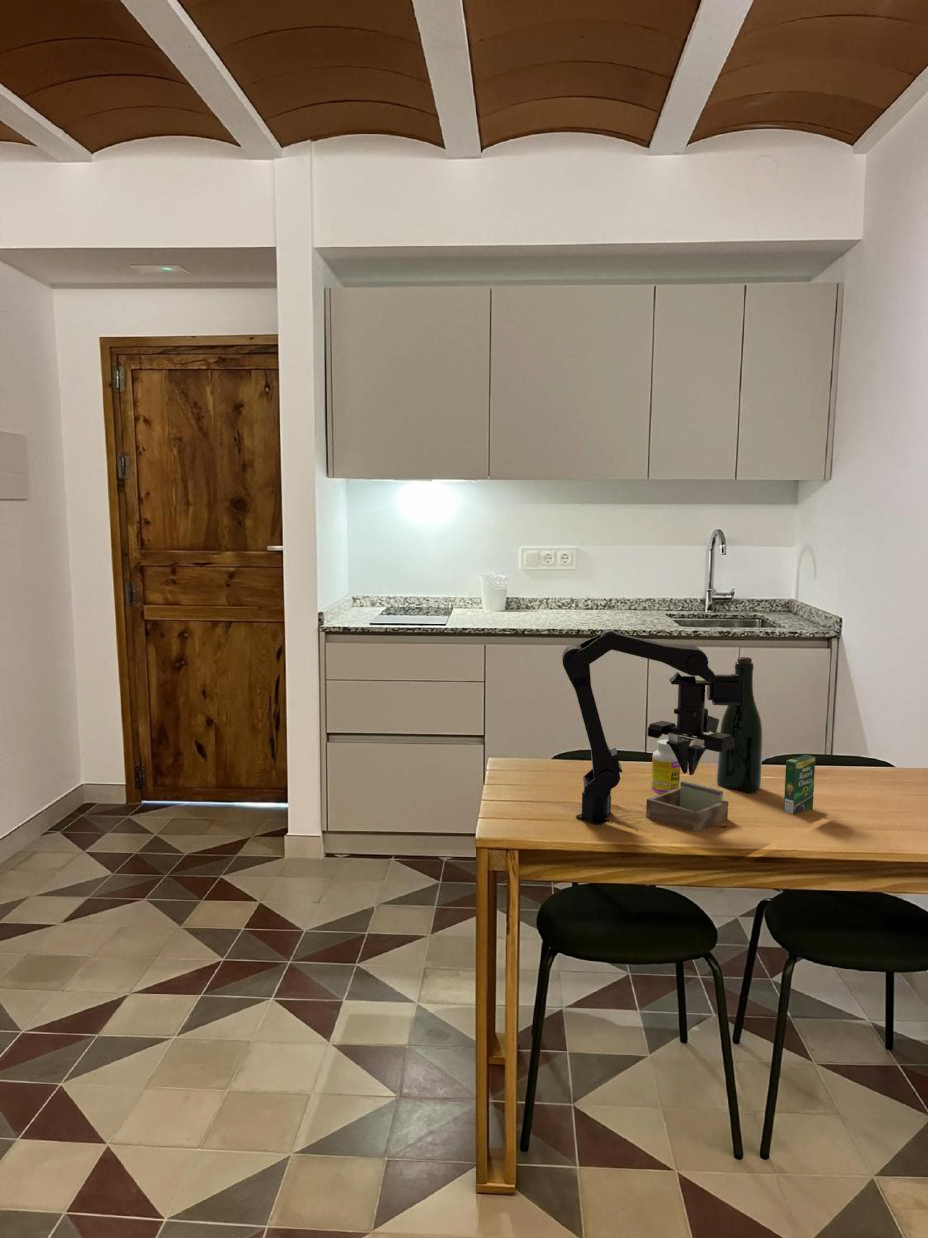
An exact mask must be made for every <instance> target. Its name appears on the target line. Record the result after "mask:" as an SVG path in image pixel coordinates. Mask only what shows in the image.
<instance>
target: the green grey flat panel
mask: <svg viewBox="0 0 928 1238" xmlns="http://www.w3.org/2000/svg"><path fill="white" fill-rule="evenodd" d="M679 789H680V806H679V807H682V808H685V809H689V810H692V811H696V812H697V811H699V810H702V809H704V808H707V807H709V806H712V805H714V804H717V803H719V802H722V801H724V800H723V798H724V791H723V790H719V789H715V788H713V787H708V786H705V785H700V784H697V783H693V782H689V781H685V780H683V781H679Z"/></svg>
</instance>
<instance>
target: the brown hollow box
mask: <svg viewBox="0 0 928 1238" xmlns="http://www.w3.org/2000/svg"><path fill="white" fill-rule="evenodd" d="M645 810H646V811H645V817H646V818H648V819H651V820H655V821H658V822H662V823H665V824H669V825H671V826H675V827H678V828H681V829H684V830H687V831H692V832H694V833H699V832H702V831H704V830H706V829H708V828H712V827H714V826H715V825H717V824H720V823H722V822H725V821H726V820H728V815H729V814H728V813H729V801H727V800H722V802H719V803H717V804H714V805H712V806H709V807H707V808H704V809H702V810H699V811H697V812H696V811H692V810H689V809H685V808H682V807H680V787H679V788H676V789H674V790H671V791H668V792H665V793H660V794H658V795H655V796H652V797H648V798H646V806H645Z"/></svg>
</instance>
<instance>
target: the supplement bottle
mask: <svg viewBox="0 0 928 1238" xmlns="http://www.w3.org/2000/svg"><path fill="white" fill-rule="evenodd" d="M668 740H669V739H659V740H657V742H656V746H657V750H655V751H654V752H653V753H652V762H651V784H650V789H651V791H653V792H655V793H658V794H659V793H660V794H663V793H665V792H668V791H671V790H674V789H676V788H679V789H680V782H681V781H680V776H681V767H680V765H679V763H678V760H677V758H676V756H675V754H674V752H673V751H672V749H671V747H670V745H668V744H667V743H666V742H667V741H668Z"/></svg>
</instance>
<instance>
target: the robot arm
mask: <svg viewBox="0 0 928 1238" xmlns="http://www.w3.org/2000/svg"><path fill="white" fill-rule="evenodd" d="M610 651H615V652H620V653H623V654H627V655H632V656H635V657H639V658H643V659H644V658H645V659H649V660H650V661H656V662H659V663H663V664H665V665H666V666H667V665H668V666H670V667H671V668H673V669H676V670H677V671H676V672H675V674H674V675H673V676H672V677H669V680H668V681H669V682H670V684H671V685H677V687H678V689H677V707H676V708H673V714H674V715H676V724H675V722H671V721H665V720H659V721H656V722H652V723H650V724H649V725H648V727H647V731H646V732H647V734H646V736H647V737H650V738H654V739H660V738H661V737H662V736H663V735H665V736H668V739H667V740H668V741H667V742H666V743H667V744H668V745H670V747H671V749H672V751H673V752H674V754H675V756H676V758H677V760H678V763H679V765H680V771H681V772H682V774H684V775H685V774H688V773H689V774H688V775H690V776H694V774H695V772H696V771H697V767H698V765H699V763H700V760H701V758H702V757H703V754H704V753H705V752H706V750H707V751H713V752H717V753H718V752H723V751H726V750H729V749H732V748H734V738H733V737H732V735H729V734H724V733H720V731H719V732H717V731H718V727H719V723H720V719H719V718H716V717H713V716H711V715H709V710H708V708H705V705H706V699H707V701H711V704H712V706H740V705H741V702H742V691H741V683H740V676H739V675H738V674H735V673H732V674H731V673H730V674H715V672H714V671H713V670H712V669H711V668H710V667H709V659H708V657H707V655H706V653H705V652H704V651H703V650H701V648H699V647H697V646H695V645H688V644H665V643H660V642H657V641H652V640H649V639H644V638H641V637H637V636H632V635H628V634H625V633H621V632H616V631H614V630H612V629H606V630H605V629H604V630H603V631H602V632H601V633H599V634H597V635H595V636H593V637H591V638H589V639H587V640H585V641H583V642H581V643H579V644H571V645H569V646H567V647H566V648H565V649H564V650H563V652H562V655H561V657H562V658H561V659H562V660H561V661H562V667H563V669H564V671H565V673H566V675H567V678H568V679H569V681H570V683H571V685H572V687H573V689H574V691H575V694H576V698H577V702H578V705H579V709H580V712H581V717H582V720H583V724H584V728H585V731H586V734H587V738H588V743H589V745H590V753H591V754H590V755H591V756H590V757H591V768H592V769H591V770H588V772H587V773H586V774H584V776H583V777H582V781H583V792H581V813H579V814H576V815H575V818H576V819H579V820H583V821H586V822H589V823H592V824H594V825H598V826H599V825H601V824H605V823H606V822H610V820H609V819H607V818H608V817H609V816H610V814H611V813H612V810H611V809H612V796H611V795H612V794H611V793H612V792H611V791H612V789H614V788H616V787H617V786H618V784H619V782H620V780H621V775H620V773H623V769H622V764H621V762H620V761H619V756H618V751H617V748H616V747H614V748H611V749H610V746H609V745H608V743H607V740H606V736H605V732H604V729H603V725H602V722H601V719H600V714H599V710H598V707H597V703H596V702H597V701H596V698H595V695H594V693H593V692H594V691H593V688H592V678H591V666H590V665H591V664H592V663H593V662H596V661H597V660H598V659H600V658H601V657H603V656H605V654H607V653H608V652H610ZM678 671H679V672H682V673H684V674H686V675H682V674H680V673H679V672H678ZM697 676H698V677H700V678H701V679H702V680H700V679H696V677H697ZM706 686H707V687H706ZM710 732H711V733H710ZM705 733H710V734H705ZM691 742H692V745H691Z"/></svg>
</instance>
